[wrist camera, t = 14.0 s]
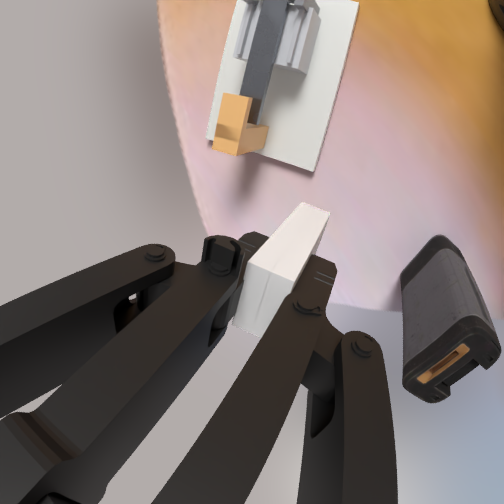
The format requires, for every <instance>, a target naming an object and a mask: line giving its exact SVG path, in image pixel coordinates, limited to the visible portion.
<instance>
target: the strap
mask: <svg viewBox="0 0 504 504" xmlns="http://www.w3.org/2000/svg"><path fill="white" fill-rule="evenodd" d="M294 1H295V0H263V4H262V7H261V11H260V14H259V18H258V22H257V25H256V29H255V33H254V37H253V41H252V45H251V49H250V53H249V57H248V61H247V65H246V69H245V73H244V77H243V81H242V86H241V90H240V94H239V95H241V96H245V97H250V98H253V99H252V104H251V108H250V112H249V116H248V121H247V123H250V124H254V125H259V122H260V118H261V114H262V110H263V106H264V102H265V98H266V94H267V90H268V86H269V82H270V78H271V74H272V70H273V66H274V62H275V58H276V54H277V50H278V46H279V42H280V39H281V35H282V31H283V27H284V23H285V20H286V16H287V12H288V8H289V5H290V3H291V4H294Z"/></svg>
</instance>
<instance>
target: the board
mask: <svg viewBox="0 0 504 504" xmlns="http://www.w3.org/2000/svg"><path fill="white" fill-rule="evenodd" d="M262 4H263V0H237V3H236V6H235V10H234V14H233V17H232V21H231V25H230V29H229V33H228V37H227V41H226V45H225V49H224V53H223V57H222V61H221V66H220V70H219V74H218V79H217V84H216V88H215V93H214V98H213V103H212V107H211V113H210V118H209V123H208V128H207V133H206V139H209V140H212V141H213V140H214V135H215V130H216V125H217V120H218V115H219V110H220V105H221V101H222V96H223V93H230V94H236V95H239V94H240V90H241V86H242V81H243V77H244V73H245V69H246V65H247V61H248V57H249V53H250V49H251V45H252V41H253V37H254V33H255V29H256V25H257V22H258V18H259V14H260V11H261V7H262ZM358 10H359V3H358V2H354V1H350V0H295V1H294V4H291V3H290V5H289V8H288V12H287V16H286V20H285V23H284V27H283V31H282V35H281V39H280V42H279V46H278V50H277V54H276V58H275V62H274V66H273V70H272V74H271V78H270V82H269V86H268V90H267V94H266V98H265V102H264V106H263V110H262V114H261V118H260V122H259V124H262V125H265V126H269V129H268V133H267V137H266V141H265V145H264V148H262V149H258V150H255V151H251V152H254V153H258V154H261V155H264V156H267V157H270V158H274V159H277V160H280V161H283V162H286V163H289V164H292V165H295V166H298V167H300V168H303V169H306V170H309V171H312V172H314V171H315V169H316V165H317V162H318V159H319V155H320V152H321V149H322V145H323V142H324V138H325V135H326V132H327V128H328V125H329V121H330V118H331V114H332V111H333V107H334V103H335V100H336V96H337V93H338V89H339V85H340V82H341V78H342V74H343V70H344V67H345V63H346V59H347V55H348V51H349V47H350V43H351V39H352V35H353V31H354V27H355V23H356V19H357V15H358Z"/></svg>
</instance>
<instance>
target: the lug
mask: <svg viewBox="0 0 504 504" xmlns="http://www.w3.org/2000/svg"><path fill="white" fill-rule="evenodd" d="M252 99H253V98H250V97H245V96H241V95H236V94H230V93H223V96H222V101H221V105H220V110H219V115H218V120H217V125H216V130H215V135H214V140H213V146H212V149H213V150H217V151H220V152H224V153H227V154H230V155H234V156H238V155H241V154H245V153H248V152H251V151H255V150H258V149H262V148H264V145H265V141H266V137H267V133H268V129H269V126H265V125H262V124H259V125H254V124H250V123H247V121H248V116H249V112H250V108H251V104H252Z"/></svg>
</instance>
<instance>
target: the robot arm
mask: <svg viewBox="0 0 504 504" xmlns="http://www.w3.org/2000/svg"><path fill="white" fill-rule="evenodd" d="M489 3H490V6H491V9H492V11H493V13H494V15H495V17H496V19H497V21H498V23H499V24H500V26H501V28H502V29H503V30H504V0H489ZM329 216H330V212H327V211H325V210H322V209H319V208H317V207H314V206H312V205H309V204H307V203H304V202H301V203H300V205H299V206H298V207H297V208H296V209H295V210H294V211H293V212H292V213H291V215H290V216H289V217H288V218H287V219H286V220H285V221H284V222H283V223H282V224H281V226H280V227H279V228H278V229H277V230H276V231H275V232H274V233H273V234H272V236H271V237H267V236H265V235H262V234H260V233H257V232H255V231H254V232H250V233H247V234H244V235H243V236H242V237H241V238H240V239H239V240H236V239H234V238H231V237H227V236H221V235H215V236H209V237H207V238H205V239H204V246H203V252H202V259H201V262H199V263H198V264H197V265H189V264H185V263H180V262H176V261H175V253H174V251H173V250H172V249H171V248H169V247H167V246H165V245H161V244H148V245H144V246H141V247H139V248H136V249H134V250H131V251H128V252H126V253H123V254H121V255H118V256H116V257H113V258H110V259H108V260H106V261H103V262H101V263H98V264H96V265H93V266H91V267H88V268H86V269H84V270H81V271H79V272H76V273H74V274H71V275H69V276H67V277H64V278H62V279H60V280H58V281H55V282H53V283H50V284H48V285H46V286H44V287H41V288H39V289H37V290H35V291H32V292H30V293H28V294H25V295H23V296H21V297H19V298H17V299H14V300H12V301H10V302H8V303H6V304H4V305H2V306H0V418H2V417H4V416H5V415H7V414H9V413H11V412H13V411H15V410H17V409H18V408H20V407H22V406H24V405H26V404H27V403H29V402H31V401H33V400H35V399H36V398H38V397H40V396H42V395H44V394H45V393H47V392H49V391H51V390H52V389H54V388H56V387H58V386H59V385H61V384H62V385H61V386H60V387H59V388H58V389H57V390H56V391H55V392H54V393H53V394H52V395H51V396H50V397H49V398H48V399H47V400H46V401H45V402H44V403H42V404H41V405H40V406H39V407H38V408H37V409H36V410H34V411H32V412H30V413H25V412H15V413H12V414H9V415H7V416H6V417H4V418H3V419H1V420H0V504H98V503H99V502H100V500H101V499H102V498H103V496H104V494H105V491H106V487H107V485H108V483H109V482H110V480H111V479H112V478H113V477H114V475H115V474H116V473H117V472H118V470H119V469H120V468H121V467H122V466H123V464H124V463H125V462H126V461H127V459H128V458H129V457H130V456H131V455H132V453H133V452H134V451H135V450H136V448H137V447H138V446H139V445H140V443H141V442H142V441H143V440H144V438H145V437H146V436H147V435H148V433H149V432H150V431H151V430H152V428H153V427H154V426H155V424H156V423H157V422H158V421H159V419H160V418H161V417H162V416H163V414H164V413H165V412H166V410H167V409H168V408H169V407H170V405H171V404H172V403H173V402H174V400H175V399H176V398H177V396H178V395H179V394H180V393H181V391H182V390H183V389H184V387H185V386H186V385H187V383H188V382H189V381H190V379H191V378H192V377H193V376H194V374H195V373H196V372H197V370H198V369H199V368H200V366H201V365H202V364H203V362H204V361H205V360H206V358H207V357H208V356H209V354H210V353H211V352H212V350H213V349H214V348H215V346H216V345H217V344H218V342H219V341H220V340H221V338H222V337H223V336H224V334H225V332H226V329H227V325H228V322H229V321H230V320H231V318H232V317H233V316H234V318H233V321H232V325H234V326H236V327H238V328H240V329H242V330H244V331H246V332H248V333H250V334H253V335H255V336H257V337H259V338H261V340H260V341H259V343H258V344H257V346H256V348H255V349H254V351H253V353H252V354H251V356H250V358H249V359H248V361H247V362H246V364H245V366H244V367H243V369H242V371H241V372H240V374H239V375H238V377H237V379H236V380H235V382H234V383H233V385H232V387H231V388H230V390H229V391H228V393H227V394H226V396H225V398H224V399H223V401H222V402H221V404H220V405H219V407H218V408H217V410H216V412H215V413H214V415H213V416H212V418H211V419H210V421H209V422H208V424H207V425H206V427H205V428H204V430H203V431H202V433H201V434H200V436H199V437H198V439H197V440H196V442H195V443H194V444H193V446H192V447H191V449H190V450H189V452H188V453H187V455H186V456H185V458H184V459H183V460H182V462H181V463H180V465H179V466H178V467H177V469H176V470H175V472H174V473H173V475H172V476H171V477H170V479H169V480H168V481H167V483H166V484H165V486H164V487H163V489H162V490H161V491H160V492H159V494H158V495H157V496H156V498H155V499H154V500H153V502H152V503H151V504H244V503H245V501H246V499H247V497H248V496H249V494H250V492H251V490H252V488H253V486H254V484H255V482H256V480H257V478H258V476H259V475H260V472H261V471H262V468H263V467H264V465H265V463H266V460H267V458H268V456H269V454H270V452H271V450H272V448H273V446H274V444H275V441H276V439H277V437H278V435H279V433H280V431H281V428H282V426H283V424H284V422H285V419H286V417H287V415H288V412H289V410H290V408H291V405H292V403H293V401H294V398H295V396H296V393H297V391H298V388H299V386H300V383H301V384H302V385H304V386H305V387H306V388H308V389H309V390H308V396H307V412H306V424H305V435H304V445H303V456H302V466H301V473H300V482H299V490H298V498H297V504H398V490H397V489H398V488H397V467H396V451H395V439H394V429H393V420H392V411H391V403H390V396H389V389H388V382H387V376H386V371H385V364H384V359H383V353H382V350H381V348H380V345H379V344H378V343H377V341H376V340H375V339H374V338H373V337H371V336H370V335H368V334H366V333H363V332H361V331H350V332H347V333H346V334H345V335H344V334H342V333H341V332H340V331H338V330H337V329H336V328H335V327H333V326H332V324H331V323H330V322H329V321H328V319H327V317H326V312H325V311H326V306H327V303H328V300H329V297H330V294H331V290H332V287H333V284H334V281H335V278H336V274H337V269H336V266H335V263H333V262H330V261H328V260H326V259H323V258H321V257H318V256H316V255H315V254H316V251H317V248H318V246H319V243H320V240H321V238H322V235H323V232H324V230H325V227H326V224H327V222H328V219H329ZM135 293H136V298H135V299H132V300H129V296H131V295H133V294H135Z"/></svg>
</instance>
